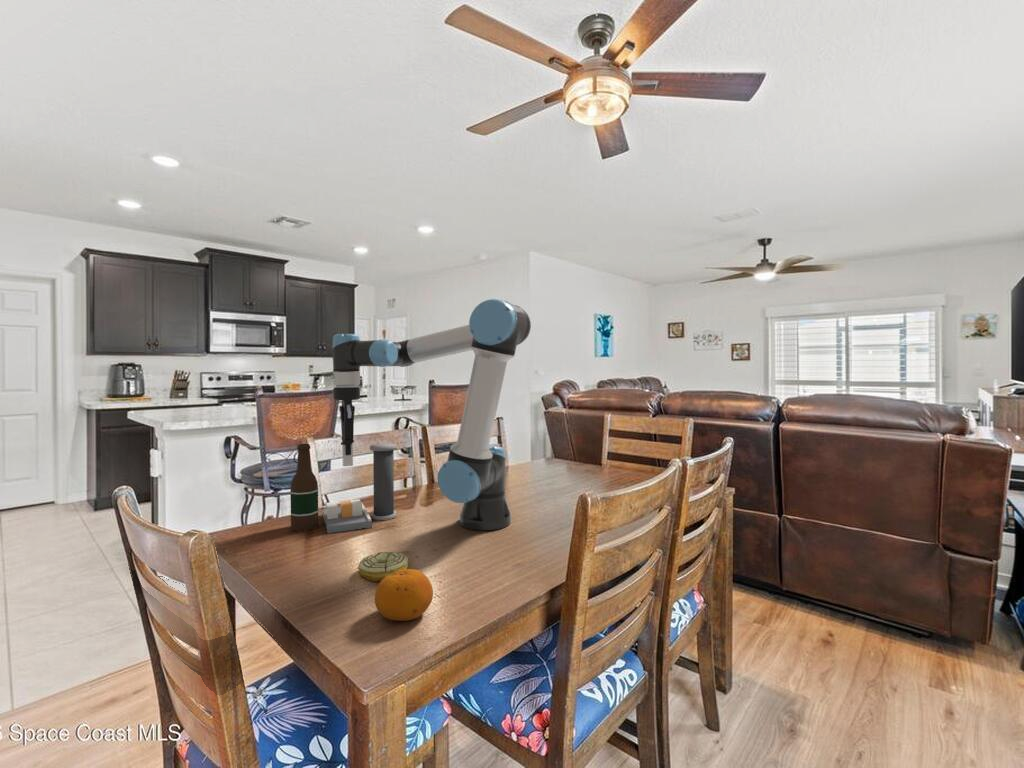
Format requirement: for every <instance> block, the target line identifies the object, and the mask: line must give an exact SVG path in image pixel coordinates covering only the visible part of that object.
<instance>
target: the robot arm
mask: <svg viewBox="0 0 1024 768" xmlns="http://www.w3.org/2000/svg"><path fill="white" fill-rule="evenodd" d="M468 320H469V323H468V324H465V325H462V326H458V327H453V328H450V329H446V330H442V331H438V332H434V333H429V334H426V335H422V336H418V337H413V338H410V339H406V340H401V341H392V340H387V339H386V340H385V339H376V340H360V336H359V334H355V333H336V334H335V335H333V337H332V346H331V347H332V348H331V350H332V351H331V352H332V368H333V369H332V372H333V374H332V375H330V378H331V379H332V381H333V383H332V384H333V386H335V387H333V388H332V389H333V391H332V393H333V395H332V397H333V400H334V401H341V405H339V407H338V408H339V409H338V410H339V413H340V414H339V415H340V416H339V417H340V421H341V422H340V425H341V426H340V427H341V442H340V445H341V446H342V466H343V467H352V466H354V464H353V463H354V457H353V456H354V455H353V450H354V449H353V444H354V443H355V440H354V431H355V430H354V427H355V426H354V424H355V423H354V421H355V411H356V410H355V409H356V407H355V406H354V405H353V401H358V400H360V399H361V388H360V387H359V386H360V385H361V372H360V371H361V370H360V369H361V367H379V368H384V367H401V368H404V367H406V368H407V367H409V366H412V365H413V364H416V363H420V362H425V361H429V360H434V359H438V358H443V357H447V356H453V355H456V354H461V353H465V352H469V351H470V352H471V351H473V353H474V359H473V364H472V369H471V373H470V378H469V384H468V389H467V393H466V397H465V403H464V408H463V412H462V417H461V421H460V427H459V432H458V437H457V440H456V442H454V443H453V444H451V445H450V448H449V452H448V457H447V461H446V462H444V463H443V464H442V466H440V468H439V470H438V473H437V485H438V487H439V490H440V491H441V492H442V494H443V496H444V497H446V499H448V500H449V501H451V502H452V503H456V504H463V505H462V508H461V511H460V514H459V524H460V526H462V527H464V528H465V529H470V530H474V531H493V530H499V529H504V528H506V527H508V526H509V525H510V524H511V523H512V522H511V521H512V519H511V517H512V516H511V515H512V514H511V511H510V509H509V504H508V502H507V499H506V460H507V458H506V450H505V448H503V446H498V445H497V446H495V445H490V444H491V443H490V442H491V438H492V433H493V429H494V426H495V419H496V415H497V410H498V406H499V401H500V396H501V392H502V386H503V382H504V377H505V374H506V373H505V372H506V369H507V364H508V362H509V361H510V360H511V359H513V358H514V357H515V356H516V355H515V354H516V350H517V346H519V345H520V344H522V343H523V342H525V341H526V340H527V338H528V337H529V335H530V332H531V329H532V328H531V327H532V326H531V325H532V322H531V318H530V316H529V315H528V313H527V311H525V309H523V308H522V307H521V306H519V305H516V304H513V303H511V302H510V301H509V302H508V301H507V300H503V299H496V298H491V299H486V300H484V301H481V302H480V303H479V304H477V305H476V307H474V309H473V311H472V312H471V314H470V316H469V319H468Z"/></svg>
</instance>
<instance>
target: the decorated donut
mask: <svg viewBox="0 0 1024 768" xmlns="http://www.w3.org/2000/svg"><path fill="white" fill-rule="evenodd" d="M408 566H409V559H408V557H407V555H405V554H404V553H401V552H395V551H381V552H379V551H378V552H376V553H373V554H369V555H367V556H365V557H363V558H362V559H361V560H360V561H359V563H358V565H357V569H358V570H359V574H360V576H362V577H363V579H366V580H367V581H372V582H381V580H383V579H384V578H385V577H386V576H388V575H390V574H392V573H395V572H396V571H399V570H404V569H408Z"/></svg>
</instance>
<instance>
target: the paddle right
mask: <svg viewBox="0 0 1024 768" xmlns="http://www.w3.org/2000/svg"><path fill="white" fill-rule="evenodd" d="M350 501H351V503H352V516H359V515H362V503H363V502H362V500H361V499H359V498H358V499H350Z"/></svg>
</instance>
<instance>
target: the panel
mask: <svg viewBox="0 0 1024 768" xmlns="http://www.w3.org/2000/svg"><path fill="white" fill-rule="evenodd" d="M322 517H323V521H324V524H325V530H326V529H327V530H326V533H328V534H334V533H333V532H335V533H341V532H342V531H343V532H349V530H350V531H356V530H355V529H358V530H363V529H362V528H365V529H371V527H372V528H373V520H372V519H371V518H370V514H369V513H368V510H367V508H366V506H365V505H364V504H363V502H362V515H359V516H351V517H343V518H342V515H341V513H340V506H338V518H334V519H328V518H327V515H326V507H324V508H322Z"/></svg>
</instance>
